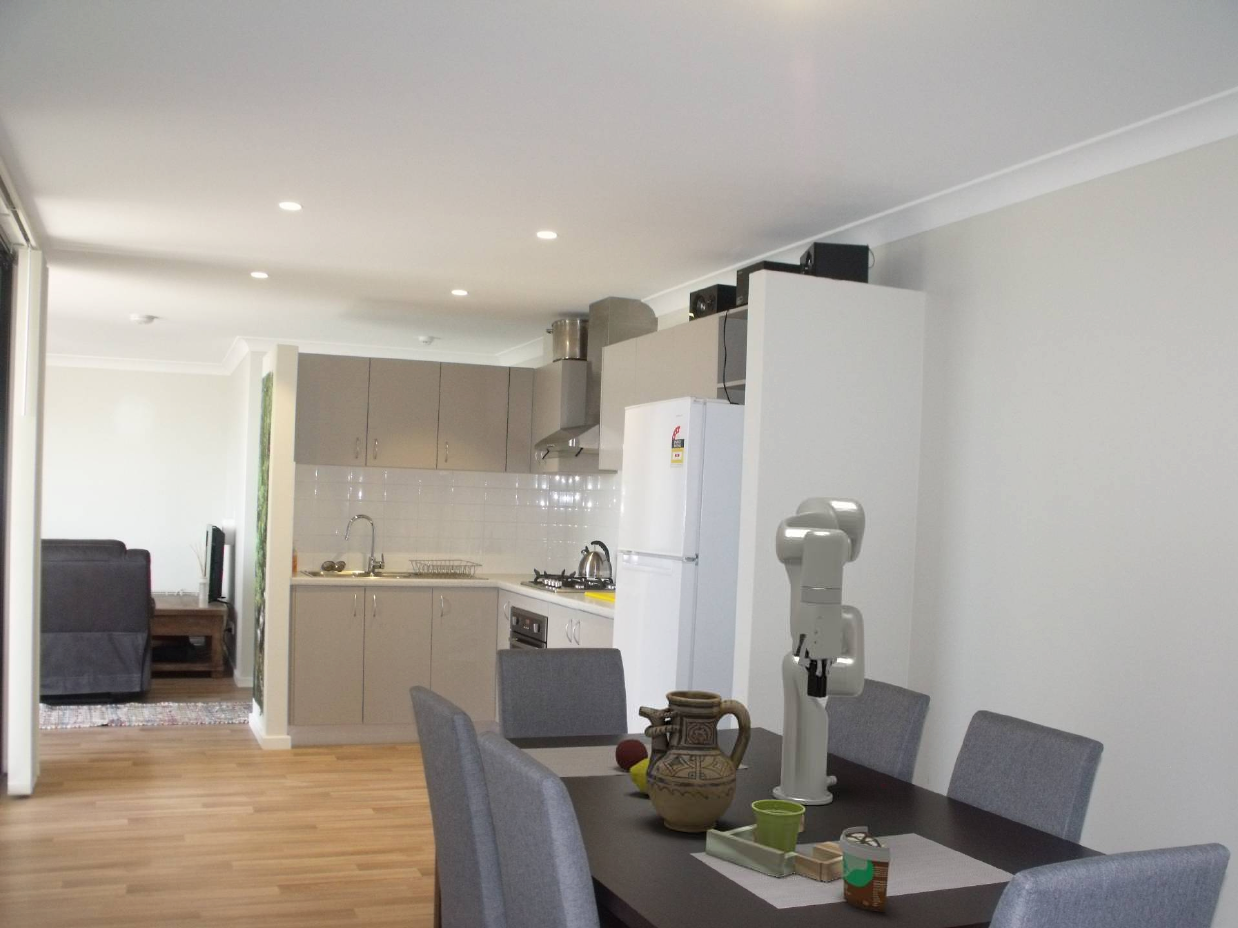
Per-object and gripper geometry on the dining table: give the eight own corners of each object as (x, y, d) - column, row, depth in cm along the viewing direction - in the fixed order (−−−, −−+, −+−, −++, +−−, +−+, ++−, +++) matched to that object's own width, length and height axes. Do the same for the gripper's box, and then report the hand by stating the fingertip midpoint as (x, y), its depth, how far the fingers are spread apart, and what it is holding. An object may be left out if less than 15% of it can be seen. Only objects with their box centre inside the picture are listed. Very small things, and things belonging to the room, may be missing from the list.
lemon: (679, 792, 239) (681, 754, 240) (680, 801, 231) (682, 762, 232) (629, 789, 240) (631, 751, 240) (628, 798, 232) (630, 759, 232)
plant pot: (774, 867, 192) (776, 816, 192) (738, 851, 199) (740, 802, 200) (814, 859, 197) (816, 809, 197) (778, 844, 205) (780, 796, 205)
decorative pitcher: (740, 816, 223) (746, 690, 224) (752, 843, 205) (758, 705, 206) (631, 811, 222) (638, 684, 223) (633, 837, 205) (641, 699, 206)
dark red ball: (609, 767, 259) (610, 736, 260) (639, 765, 263) (641, 735, 263) (622, 774, 253) (624, 743, 253) (653, 772, 256) (655, 741, 256)
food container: (827, 886, 183) (829, 824, 183) (863, 887, 184) (866, 825, 184) (848, 913, 171) (851, 847, 171) (888, 914, 171) (891, 848, 172)
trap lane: (797, 829, 216) (798, 808, 216) (897, 858, 200) (898, 836, 200) (705, 853, 197) (706, 830, 197) (807, 888, 181) (808, 863, 182)
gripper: (827, 594, 216) (823, 689, 215) (780, 595, 205) (775, 696, 205) (861, 597, 210) (856, 696, 210) (813, 600, 200) (809, 703, 199)
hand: (816, 696), depth 207 cm, fingers closed
